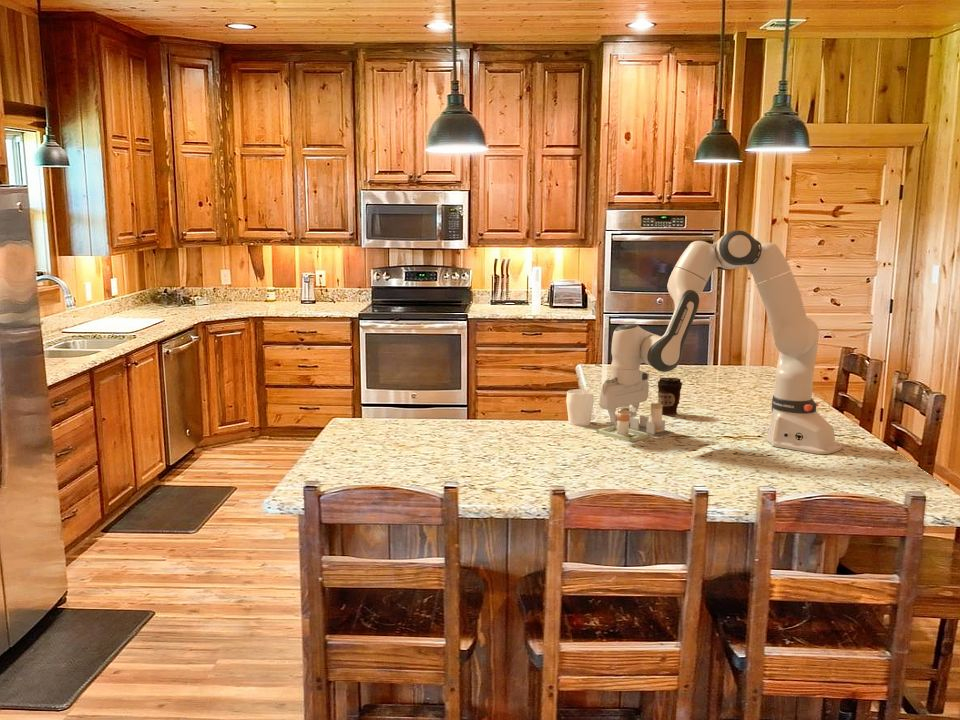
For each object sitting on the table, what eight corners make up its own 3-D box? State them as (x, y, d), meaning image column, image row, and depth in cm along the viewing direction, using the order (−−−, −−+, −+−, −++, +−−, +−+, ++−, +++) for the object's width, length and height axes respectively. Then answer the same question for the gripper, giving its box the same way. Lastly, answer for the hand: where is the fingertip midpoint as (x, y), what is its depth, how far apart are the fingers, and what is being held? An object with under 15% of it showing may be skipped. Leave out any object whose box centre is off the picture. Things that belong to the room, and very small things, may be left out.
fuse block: (674, 436, 275) (675, 421, 274) (659, 441, 269) (659, 425, 269) (620, 423, 291) (620, 409, 290) (604, 427, 286) (605, 413, 285)
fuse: (663, 431, 275) (664, 404, 273) (656, 433, 273) (657, 406, 271) (654, 429, 278) (655, 402, 276) (647, 431, 275) (648, 404, 274)
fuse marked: (630, 437, 271) (632, 409, 270) (623, 439, 269) (624, 411, 267) (621, 434, 274) (622, 407, 272) (614, 436, 271) (615, 408, 270)
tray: (649, 441, 269) (649, 433, 269) (631, 446, 263) (631, 438, 263) (614, 432, 280) (614, 425, 279) (596, 437, 274) (596, 429, 273)
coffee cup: (673, 418, 298) (675, 382, 296) (651, 415, 303) (653, 379, 300) (684, 414, 305) (686, 378, 302) (662, 410, 310) (664, 375, 307)
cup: (561, 428, 284) (562, 393, 282) (571, 422, 292) (572, 388, 290) (587, 432, 280) (588, 396, 278) (596, 425, 288) (597, 390, 286)
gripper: (611, 382, 259) (609, 426, 261) (652, 373, 272) (651, 415, 275) (595, 378, 263) (594, 422, 266) (636, 370, 277) (635, 412, 279)
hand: (623, 419), depth 270 cm, fingers open, 8 cm apart
